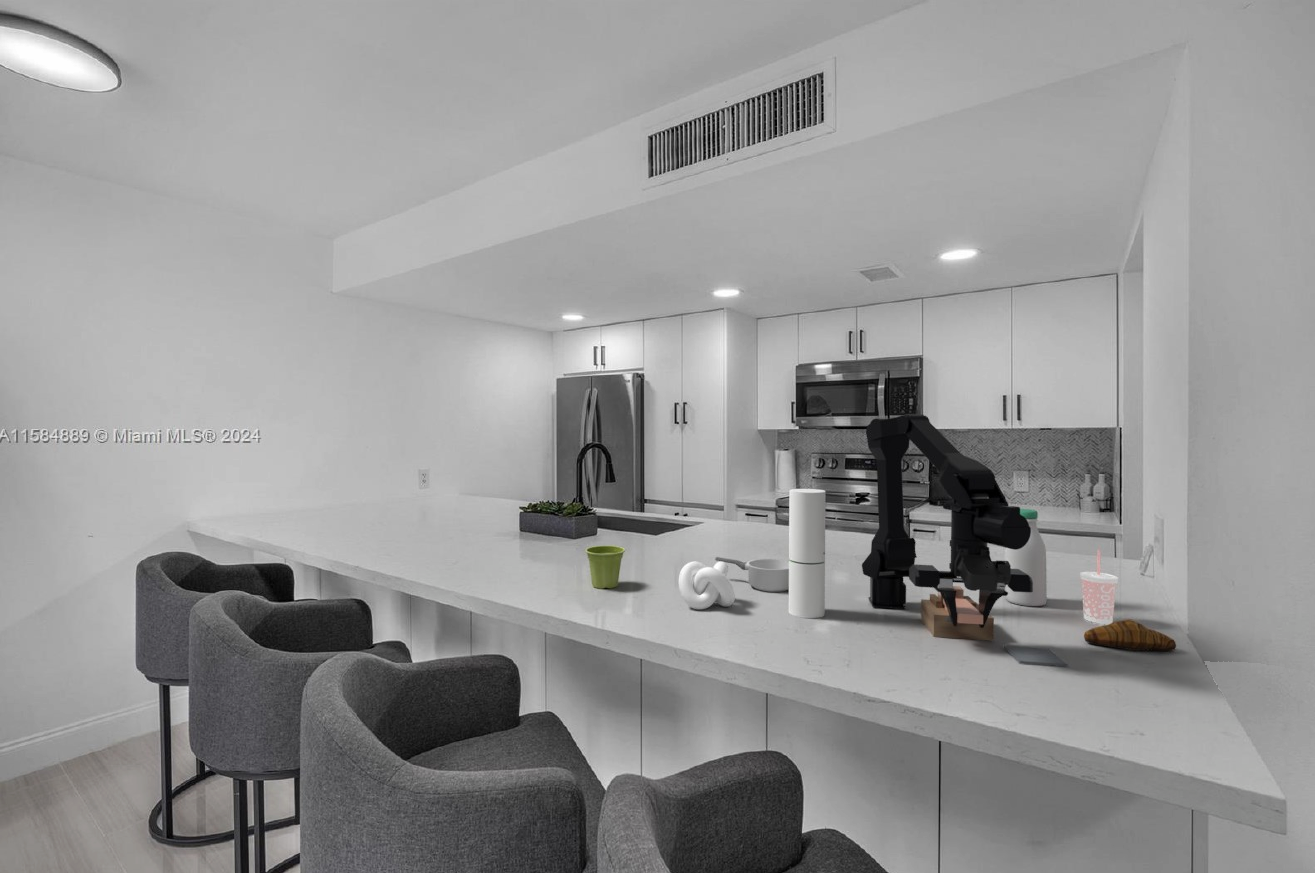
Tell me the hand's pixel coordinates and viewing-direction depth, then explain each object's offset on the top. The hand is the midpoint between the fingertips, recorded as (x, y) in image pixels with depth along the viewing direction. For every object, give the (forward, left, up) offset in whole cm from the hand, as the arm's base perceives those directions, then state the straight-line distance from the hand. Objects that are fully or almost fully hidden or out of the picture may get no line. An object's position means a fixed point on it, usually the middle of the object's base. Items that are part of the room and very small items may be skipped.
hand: (967, 626), depth 108 cm
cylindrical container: (-27, +12, -3) cm, 30 cm away
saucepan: (-38, +33, -3) cm, 50 cm away
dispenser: (0, +7, -3) cm, 8 cm away
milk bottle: (+20, +29, -3) cm, 36 cm away
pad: (+9, -5, -3) cm, 10 cm away
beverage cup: (+29, +18, -3) cm, 35 cm away
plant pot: (-73, +24, -3) cm, 77 cm away
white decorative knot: (-48, +13, -3) cm, 50 cm away
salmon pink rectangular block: (0, +3, +1) cm, 4 cm away
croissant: (+27, +4, -3) cm, 27 cm away
